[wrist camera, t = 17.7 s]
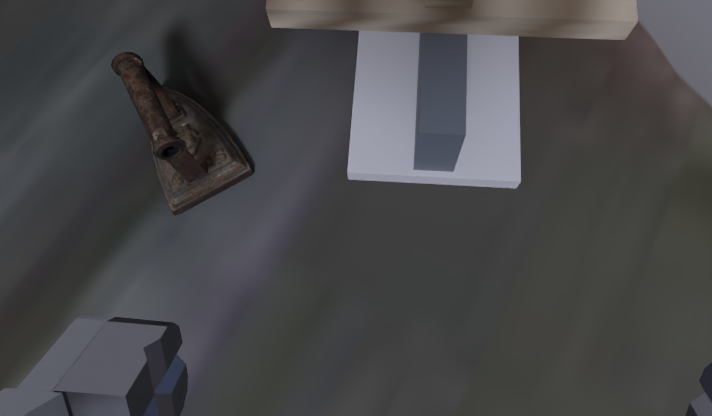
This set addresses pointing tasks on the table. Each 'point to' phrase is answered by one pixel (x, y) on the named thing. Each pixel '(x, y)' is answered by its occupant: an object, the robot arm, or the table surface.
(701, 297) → the table surface
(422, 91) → the ridge stand
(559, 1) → the balance beam
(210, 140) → the clothes iron
